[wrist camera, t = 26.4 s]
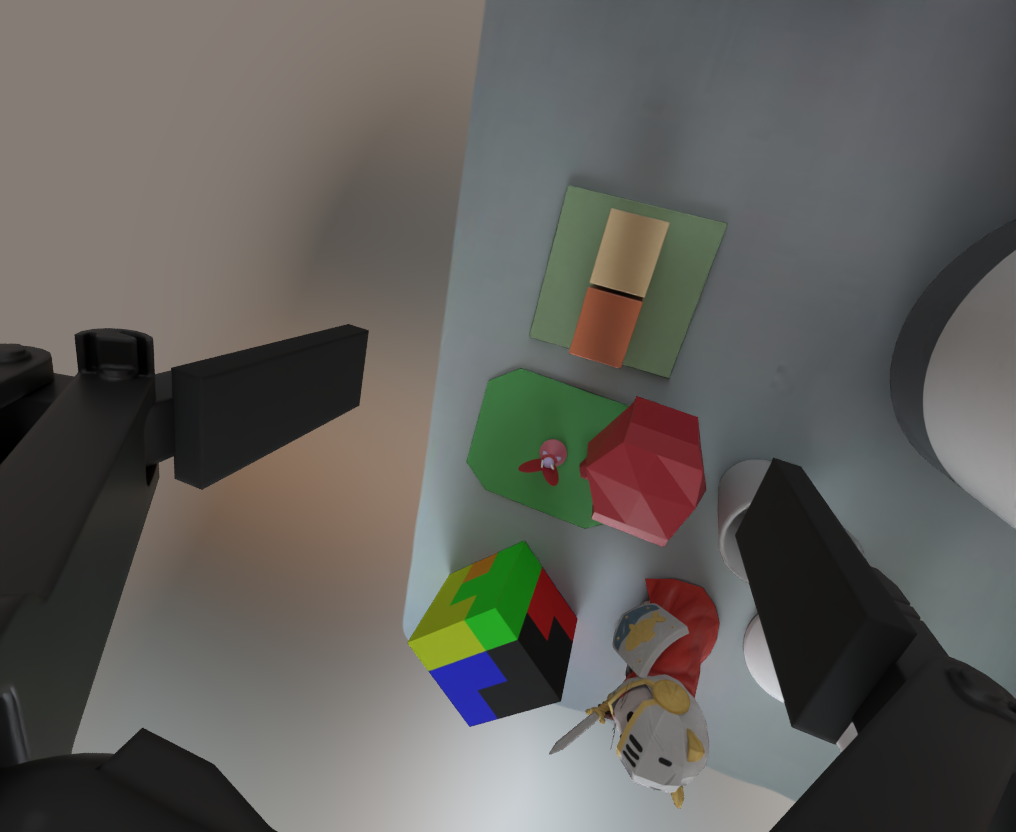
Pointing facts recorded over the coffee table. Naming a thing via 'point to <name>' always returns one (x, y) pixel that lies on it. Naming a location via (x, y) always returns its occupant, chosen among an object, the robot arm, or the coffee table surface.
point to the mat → (668, 290)
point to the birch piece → (629, 252)
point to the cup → (741, 509)
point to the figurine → (660, 687)
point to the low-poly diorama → (588, 456)
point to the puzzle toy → (497, 637)
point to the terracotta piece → (605, 325)
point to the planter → (965, 372)
